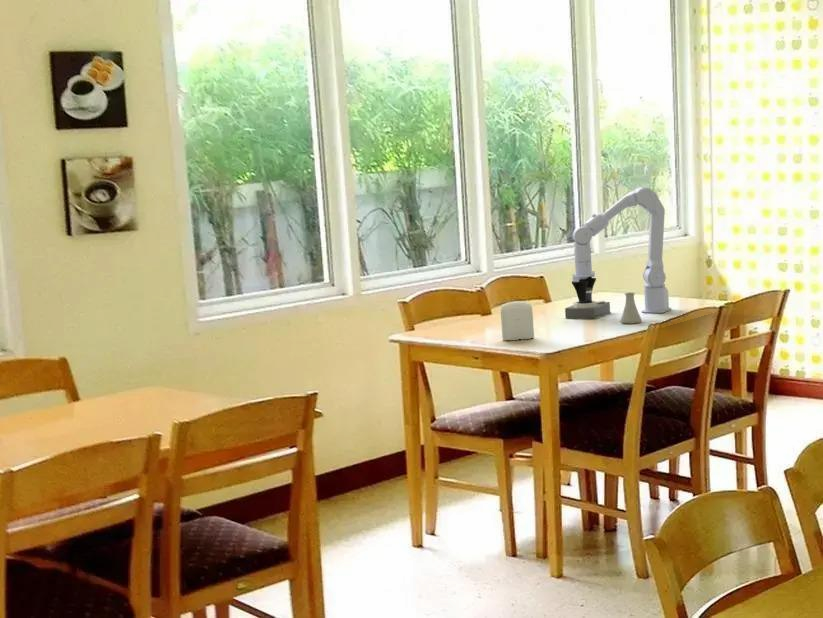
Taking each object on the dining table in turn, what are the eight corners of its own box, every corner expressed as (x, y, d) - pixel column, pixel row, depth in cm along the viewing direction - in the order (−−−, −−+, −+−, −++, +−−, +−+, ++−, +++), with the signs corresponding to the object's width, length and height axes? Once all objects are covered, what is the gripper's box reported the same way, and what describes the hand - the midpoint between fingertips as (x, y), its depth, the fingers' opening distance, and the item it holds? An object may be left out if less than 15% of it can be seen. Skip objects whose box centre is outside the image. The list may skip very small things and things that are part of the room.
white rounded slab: (502, 341, 391) (500, 303, 389) (501, 339, 395) (499, 301, 393) (535, 339, 391) (532, 301, 389) (533, 337, 395) (531, 299, 393)
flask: (641, 323, 407) (640, 294, 405) (619, 324, 408) (618, 295, 407) (642, 320, 414) (640, 291, 412) (620, 321, 415) (619, 292, 414)
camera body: (581, 311, 441) (581, 298, 440) (610, 312, 435) (609, 298, 434) (565, 318, 429) (564, 304, 429) (594, 318, 423) (593, 304, 423)
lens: (583, 303, 433) (582, 286, 432) (594, 304, 430) (594, 287, 429) (576, 305, 429) (575, 288, 429) (587, 306, 426) (587, 288, 426)
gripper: (580, 258, 436) (582, 296, 438) (564, 263, 424) (565, 302, 426) (599, 258, 432) (601, 296, 434) (582, 263, 420) (584, 302, 422)
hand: (584, 299), depth 430 cm, fingers closed on lens, 4 cm apart
